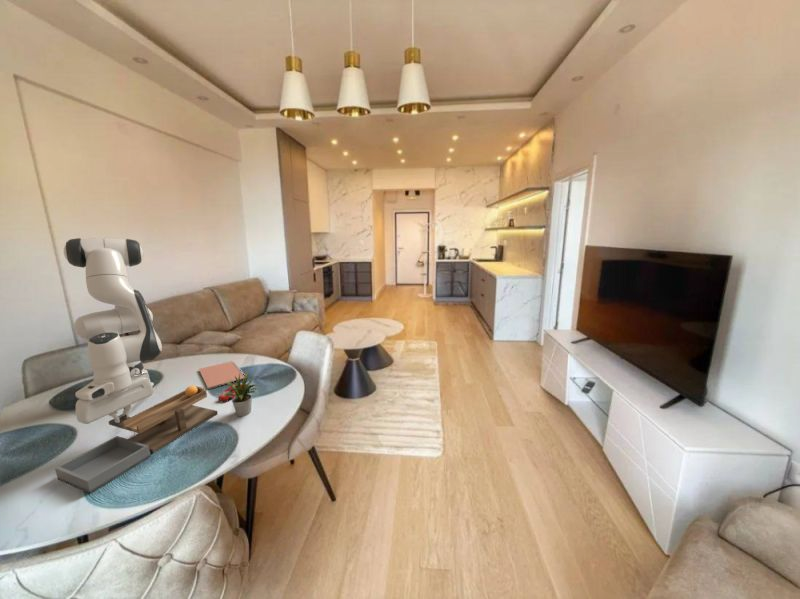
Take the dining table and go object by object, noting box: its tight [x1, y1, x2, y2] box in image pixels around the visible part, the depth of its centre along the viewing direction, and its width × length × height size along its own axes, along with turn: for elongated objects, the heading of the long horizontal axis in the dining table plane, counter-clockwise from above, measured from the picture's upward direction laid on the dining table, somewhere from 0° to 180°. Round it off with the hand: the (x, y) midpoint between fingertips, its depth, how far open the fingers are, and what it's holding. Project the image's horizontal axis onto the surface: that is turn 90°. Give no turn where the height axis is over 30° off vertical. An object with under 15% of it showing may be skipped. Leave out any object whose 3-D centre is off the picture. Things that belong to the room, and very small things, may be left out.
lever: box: [108, 385, 208, 434], centre depth 115 cm, size 16×24×4 cm, turn 160°
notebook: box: [198, 360, 246, 390], centre depth 161 cm, size 27×17×2 cm, turn 39°
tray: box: [54, 435, 152, 495], centre depth 97 cm, size 16×16×4 cm
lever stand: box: [128, 402, 219, 454], centre depth 116 cm, size 14×24×9 cm, turn 160°
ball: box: [184, 385, 198, 397], centre depth 122 cm, size 4×4×4 cm
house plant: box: [218, 371, 260, 417], centre depth 123 cm, size 14×14×16 cm
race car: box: [218, 382, 242, 403], centre depth 140 cm, size 13×5×4 cm, turn 159°
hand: (122, 420), depth 107 cm, fingers closed, pressing on lever
